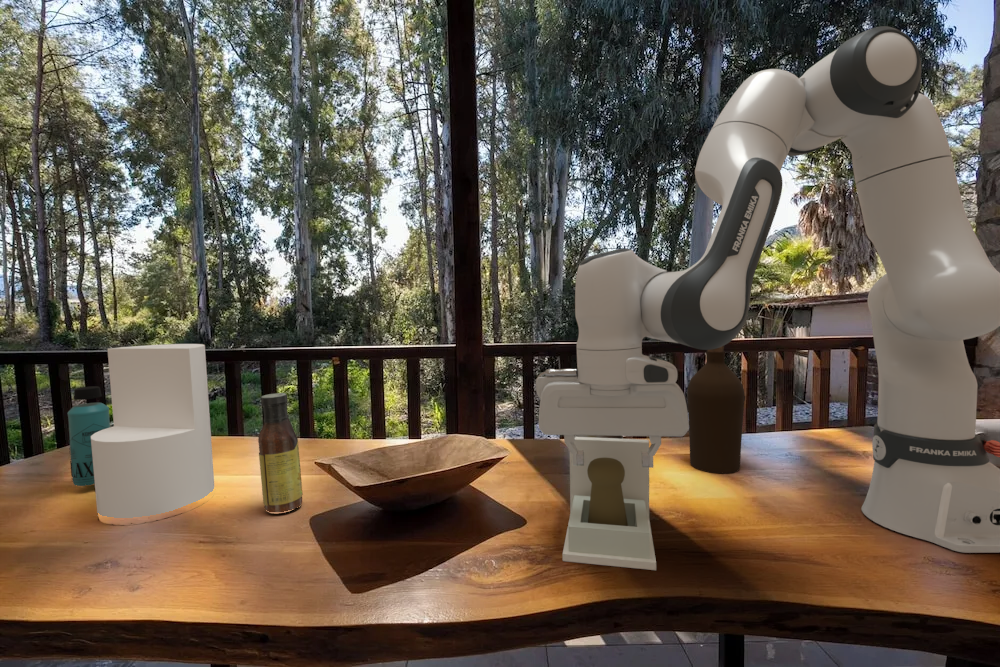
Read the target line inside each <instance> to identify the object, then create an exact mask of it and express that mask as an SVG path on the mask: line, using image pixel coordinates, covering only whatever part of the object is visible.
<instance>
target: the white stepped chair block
mask: <svg viewBox="0 0 1000 667" xmlns="http://www.w3.org/2000/svg"><path fill="white" fill-rule="evenodd" d="M107 358H108V370H109V372H108V373H109V382H110V385H109V386H110V394H111V406H112V407H111V408H112V418H113V426H110V428H106V429H103V430H101V431H98V432H96V433H94V434H93V435H92V436H91V446H92V457H93V469H94V480H95V484H94V488H95V502H96V503H95V504H96V513H99V514H100V515H102V516H107V517H114V518H133V517H142V516H150V515H156V514H161V513H165V512H169V511H173V510H175V509H178V508H181V507H183V506H186V505H188V504H191V503H193V502H196V501H198V500H200V499H202V498H204V497H205V496H207V495H208V494H209V493H210V492H212V491H213V489H214V487H215V475H214V461H213V447H212V446H213V445H212V443H213V442H212V431H211V417H210V416H211V415H210V401H209V388H208V387H209V386H208V373H207V372H208V371H207V360H206V359H207V356H206V345H205V344H203V343H172V344H171V343H166V344H148V345H134V346H132V345H131V346H120V347H112V348H111V347H110V348H107Z"/></svg>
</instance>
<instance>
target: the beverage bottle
mask: <svg viewBox="0 0 1000 667" xmlns="http://www.w3.org/2000/svg"><path fill="white" fill-rule="evenodd" d="M102 396H103V394H102V390H101V387H100V386H97V385H96V386H83V387H78V388H75V389H74V390H73V400H75V401H82V400H83V401H84V400H92V399H98V398H101V397H102ZM67 417H68V418H67V419H68V432H69V433H68V434H69V435H68V436H69V442H68V443H69V452H68V453H69V456H70V459H69V460H70V462H69V463H70V474H71V482H72V484H73V485H74V486H76V485H77V487H85V486H86V485H87V486H91V485H95V480H94V469H93V457H92V446H91V436H92V435H93V434H94V433H96V432H98V431H101V430H103V429H106V428H110V427H111V423H110V406H108V405H106V404H104V403H102V402H89V403H88V402H87V403H82V404H77V405H74V406H72V407H71V408H70V409H69V410H68V411H67Z"/></svg>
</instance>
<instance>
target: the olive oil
mask: <svg viewBox="0 0 1000 667" xmlns="http://www.w3.org/2000/svg"><path fill="white" fill-rule="evenodd" d="M705 351H706V362H705V364H703V366H702V367H701V368H700V369H699V370H698V371H697V372H695V373H694V375H692V376H691V378H690V380H689V382H688V385H687V391H686V392H687V393H686V394H687V397H686V398H687V411H688V420H689V430H688V432H689V435H688V436H689V463H690V465H691V466H692V467H693V468H695V469H697V470H700V471H702V472H708V473H713V474H732V473H736V472H738V471H739V470H740V469H741V458H742V455H741V453H742V452H741V451H742V441H743V440H742V437H743V436H742V435H743V421H744V411H745V410H744V408H745V399H746V395H745V389H744V385H743V383H742V381H741V379H740V378H739V377H738V376H737V375H736V374H735V373H734V372H733V370H732V369H730V367H728V365H727V364H726V362H725V358H726V355H725V354H726V353H725V345H724V346H722V347H719V348H716V349H711V350H705Z"/></svg>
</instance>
